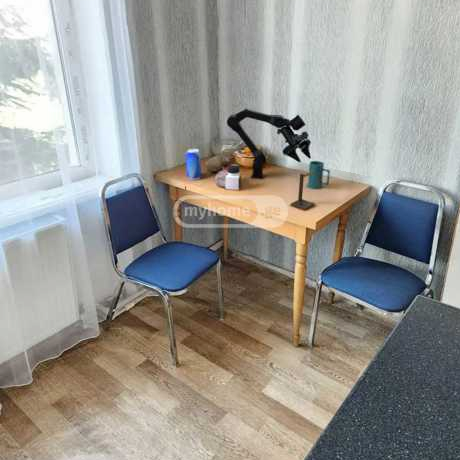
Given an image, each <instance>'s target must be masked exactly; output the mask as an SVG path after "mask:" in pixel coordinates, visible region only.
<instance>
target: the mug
mask: <svg viewBox="0 0 460 460" xmlns="http://www.w3.org/2000/svg"><path fill="white" fill-rule="evenodd" d="M308 167H309V168H308V173H309V172H311V171H312V170H314V171H315V173H314V174H311V175H308V176H307V177H308V181H307V188H309V189H312V190H313V189H314V190H319V189H322V187H323V185H325V186H329V183H330V177H331V170H330V169H327V168H324V167H325V163H324V162H323V161H319V160H313V161H309V166H308ZM324 172H326V173H327V177H326V182H325V181H323V177H324Z"/></svg>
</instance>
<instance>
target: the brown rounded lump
mask: <svg viewBox="0 0 460 460" xmlns="http://www.w3.org/2000/svg"><path fill="white" fill-rule="evenodd" d="M229 162H230V159H229V158H228V157H226V156H225V155H223V154H219V155H215V156H212V157H210V158H208V159H207V161H205V163H204V166H205V168H206V169H207V170H208V171H209V172H211V173H215V172H217V173H218V172H219V171H221V169H222V167H224V166H228V164H229Z"/></svg>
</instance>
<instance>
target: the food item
mask: <svg viewBox="0 0 460 460" xmlns="http://www.w3.org/2000/svg"><path fill="white" fill-rule="evenodd" d="M221 169H222V170H219V171H217V173H216V175H215V185H216V186H218V187H220V188H223V189H226V176H227V175H228V166H225V167H224V166H223V167H222V168H221Z"/></svg>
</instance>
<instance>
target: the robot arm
mask: <svg viewBox="0 0 460 460" xmlns="http://www.w3.org/2000/svg"><path fill="white" fill-rule="evenodd" d="M246 118H249V119H253V120H257V121H260V122H264V123H267V124H269V125H271V126H273V127H275V128H277V132H276V134H277V135H282V136H283V139H285V140H284V143H285V144H288V145H286V146H285V147H284V148H283V149H282V154H283V156H286V157H289V158H291V159H293V160H294V161H296V162H297V163H301V162H302V160H301V159H300V156H299V155H298V153H297V149H299V150H300V152H301V153H302V154H304V156H306V157H307V158H308V159H311V158H312V156H311V151H310V146H311V144H312V141H311V140H310V139H309V134H308V132H307V131H303V132H301V134H298V133H295V131H296V132H297V131H299V130H301V129H303V128H304V127H305V126H306V122H305V121H304V120H303V118H301V116H300V115H299V114H296V115H295V116H294V117H293V118H292V119H289V118H285V117H284V116H283V115H282V114H267V113H263V112H259V111H256V110H252V109H249V108H243V110H241V111H239V112H237V113H235V114H230V115H229V116H228V118H227V120H226V125H227V126H228V128H230V129H231V131H234V133H236V134H237V135H238V137H239V138H240V139H241V141H243V143H244V145H246V147H247V148H248V150H250V152H251V153H252V156H253V159H252V174H251V177H250V178H251V179H261V180H262V179H264V172H263V170H264V165H266V164H267V162H268V160H267V158H268V156H267V152H265V150H264V149H263V147H261V148H259V147H258V146H257V145H256V143H255V142H254V141H253V139H252V138H251V136H250V135H249V134H248V133H247V132H246V130H245V129H244V127H243V126H242V123H241V122H242V121H243V120H245V119H246Z"/></svg>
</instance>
